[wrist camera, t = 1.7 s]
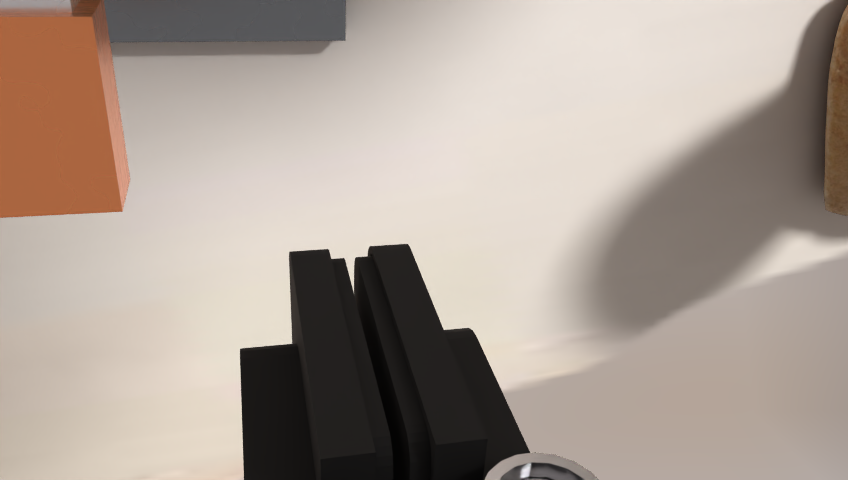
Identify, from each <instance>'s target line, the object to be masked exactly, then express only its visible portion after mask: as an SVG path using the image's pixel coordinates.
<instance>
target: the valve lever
mask: <svg viewBox="0 0 848 480" xmlns="http://www.w3.org/2000/svg"><path fill="white" fill-rule="evenodd" d="M129 182H130V175H129V169H128V162H127V155H126V148H125V141H124V135H123V128H122V121H121V114H120V107H119V101H118V94H117V87H116V80H115V73H114V67H113V60H112V53H111V46H110V39H109V33H108V26H107V19H106V12H105V5H104V0H0V218H3V217H23V216H43V215H63V214H83V213H103V212H122V211H123V207H124V203H125V199H126V195H127V190H128V186H129Z"/></svg>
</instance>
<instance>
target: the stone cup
mask: <svg viewBox="0 0 848 480" xmlns="http://www.w3.org/2000/svg"><path fill="white" fill-rule="evenodd" d="M824 199H825V208H826V210H827V211H830V212H833V213H837V214H841V215H845V216H848V5H847V7H846V9H845V10H844V12H843V15H842V17H841V20H840V23H839V27H838V30H837V34H836V38H835V42H834V48H833V53H832V58H831V63H830V70H829V79H828V94H827V114H826V131H825V180H824Z"/></svg>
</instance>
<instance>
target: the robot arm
mask: <svg viewBox="0 0 848 480" xmlns="http://www.w3.org/2000/svg"><path fill="white" fill-rule="evenodd" d="M289 267H290V293H291V319H292V344H286V345H275V346H264V347H253V348H242V349H240V366H241V397H242V428H243V459H244V480H599V479H598V478H597V477H596V476H595V475H594V474H593V473H592V472H591V471H589V470H587V469H586V468H584V467H583V466H581V465H579V464H578V463H576V462H574V461H572V460H569V459H566V458H563V457H560V456H557V455H554V454H544V453H536V452H535V453H530V451H529V449H528V447H527V445H526V443H525V441H524V438H523V436H522V434H521V432H520V430H519V428H518V425H517V423H516V421H515V419H514V417H513V415H512V412H511V410H510V408H509V406H508V404H507V402H506V399H505V397H504V395H503V393H502V391H501V389H500V386H499V384H498V382H497V380H496V378H495V376H494V373H493V371H492V369H491V367H490V365H489V363H488V360H487V358H486V356H485V354H484V352H483V350H482V347H481V345H480V343H479V341H478V339H477V337H476V335H475V333H474V332H473V330H471V329H470V328H462V329H451V330H443V327H442V325H441V322H440V320H439V317H438V315H437V313H436V310H435V308H434V305H433V303H432V300H431V298H430V295H429V293H428V290H427V288H426V286H425V283H424V281H423V278H422V276H421V273H420V271H419V268H418V266H417V263H416V261H415V259H414V256H413V254H412V251H411V249H410V247H409V245H408V244H399V245H384V246H370V247H369V250H368V257H356V258H355V265H354V293H353V289H352V285H351V281H350V277H349V273H348V270H347V266H346V262H345V259H344V258H340V259H331V257H330V252H329V250H328V249H324V250H308V251H293V252H289Z"/></svg>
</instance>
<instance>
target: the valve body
mask: <svg viewBox="0 0 848 480" xmlns="http://www.w3.org/2000/svg"><path fill="white" fill-rule="evenodd" d="M104 5H105V12H106V19H107V26H108V33H109V39H110V42H206V41H336V40H345V0H104Z"/></svg>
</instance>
